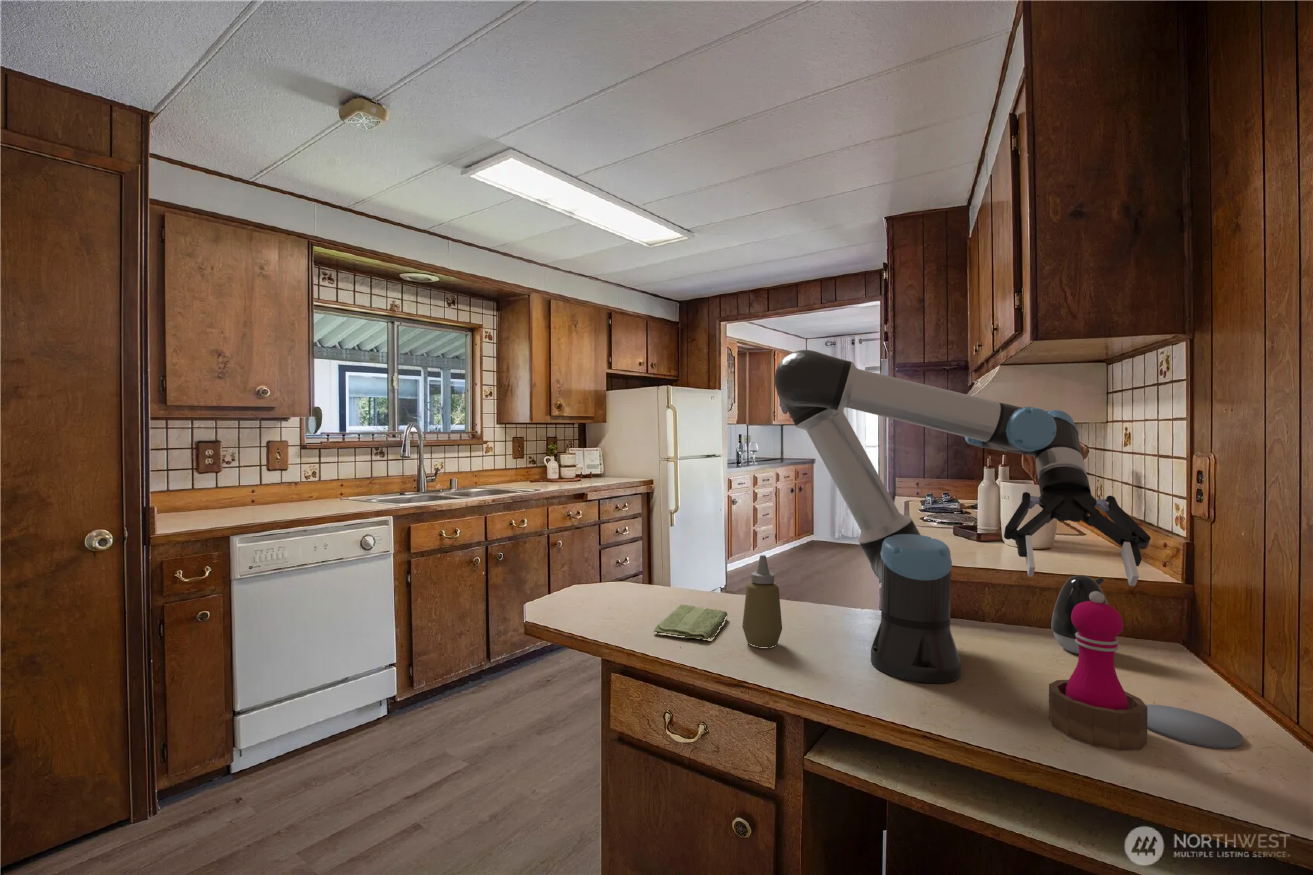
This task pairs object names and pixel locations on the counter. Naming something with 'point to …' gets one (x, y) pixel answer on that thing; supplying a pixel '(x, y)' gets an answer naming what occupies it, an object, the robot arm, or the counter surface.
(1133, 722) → the brown wooden bowl
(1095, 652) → the pepper mill
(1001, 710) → the counter surface
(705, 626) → the washcloth
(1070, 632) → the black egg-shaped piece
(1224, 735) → the coaster
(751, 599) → the squeeze bottle
